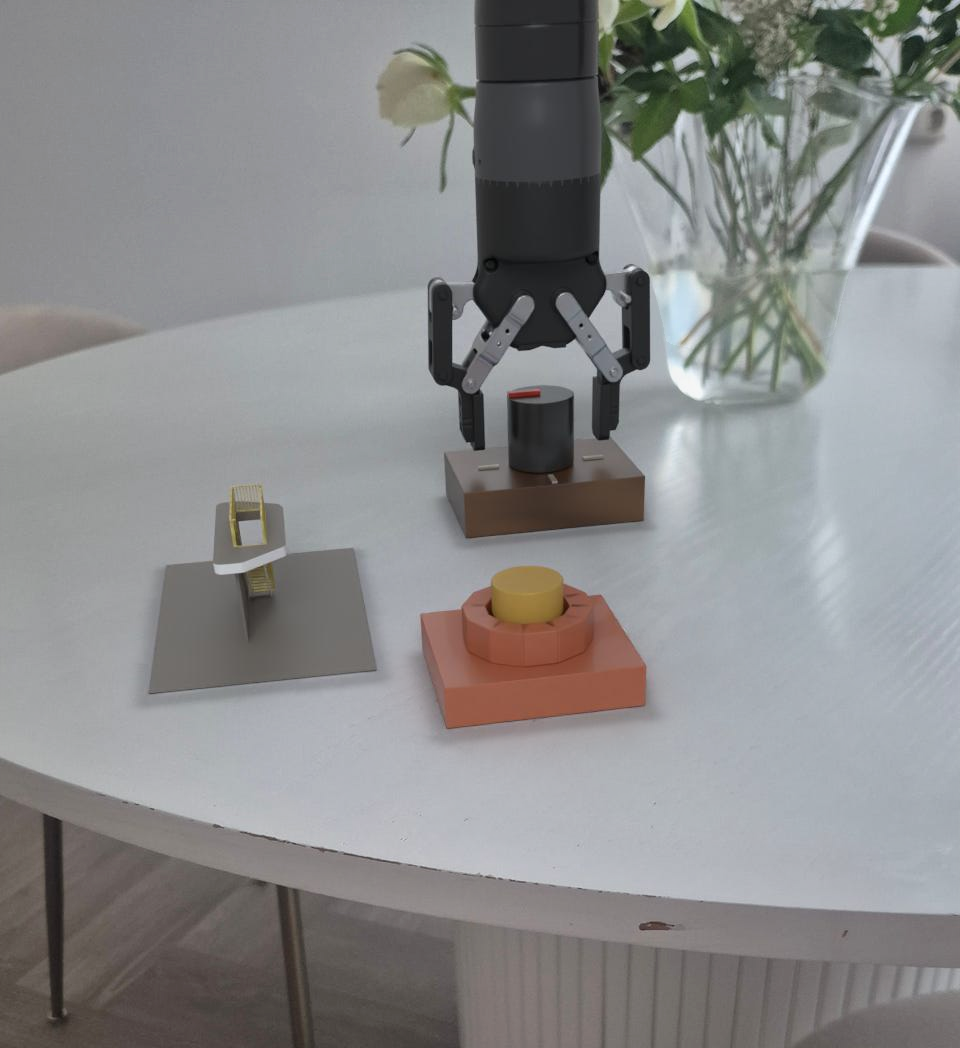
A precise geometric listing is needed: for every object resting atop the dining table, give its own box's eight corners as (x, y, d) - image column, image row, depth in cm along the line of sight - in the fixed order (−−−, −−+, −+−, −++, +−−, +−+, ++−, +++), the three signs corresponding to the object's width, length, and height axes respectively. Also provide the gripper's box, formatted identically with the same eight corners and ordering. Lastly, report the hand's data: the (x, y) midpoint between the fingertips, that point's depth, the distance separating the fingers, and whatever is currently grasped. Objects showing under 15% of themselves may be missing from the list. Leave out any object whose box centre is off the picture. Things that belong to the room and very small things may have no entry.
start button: (554, 594, 65) (554, 561, 64) (570, 622, 62) (570, 589, 61) (486, 601, 65) (485, 569, 64) (498, 630, 62) (497, 596, 61)
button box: (600, 631, 70) (602, 562, 68) (645, 705, 63) (648, 631, 60) (422, 650, 69) (417, 581, 66) (446, 728, 61) (442, 654, 59)
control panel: (609, 478, 91) (610, 434, 89) (643, 520, 84) (645, 473, 82) (446, 493, 90) (443, 449, 88) (466, 538, 82) (463, 490, 81)
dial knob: (565, 450, 87) (565, 378, 84) (580, 469, 83) (580, 395, 81) (503, 455, 87) (501, 383, 84) (515, 475, 83) (513, 401, 80)
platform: (353, 547, 82) (342, 446, 78) (376, 669, 67) (365, 552, 63) (166, 565, 80) (146, 462, 77) (148, 693, 66) (123, 574, 62)
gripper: (427, 182, 71) (442, 469, 80) (671, 167, 73) (658, 450, 82) (410, 167, 77) (426, 435, 86) (636, 154, 79) (628, 418, 88)
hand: (539, 442), depth 84 cm, fingers open, 8 cm apart
